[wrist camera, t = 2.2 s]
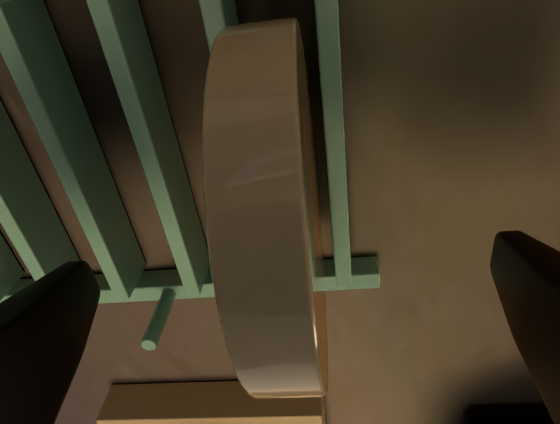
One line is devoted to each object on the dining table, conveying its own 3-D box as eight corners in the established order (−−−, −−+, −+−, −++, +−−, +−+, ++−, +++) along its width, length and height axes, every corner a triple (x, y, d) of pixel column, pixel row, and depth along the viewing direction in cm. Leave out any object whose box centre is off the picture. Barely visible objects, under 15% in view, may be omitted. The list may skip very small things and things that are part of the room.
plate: (300, -7, 13) (286, 79, 5) (322, 234, 17) (334, 481, 9) (248, 1, 13) (148, 95, 5) (284, 237, 18) (264, 481, 10)
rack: (373, -105, 11) (401, -126, 8) (376, 269, 18) (391, 343, 15) (-199, -11, 13) (-370, 4, 10) (1, 292, 20) (-59, 361, 17)
